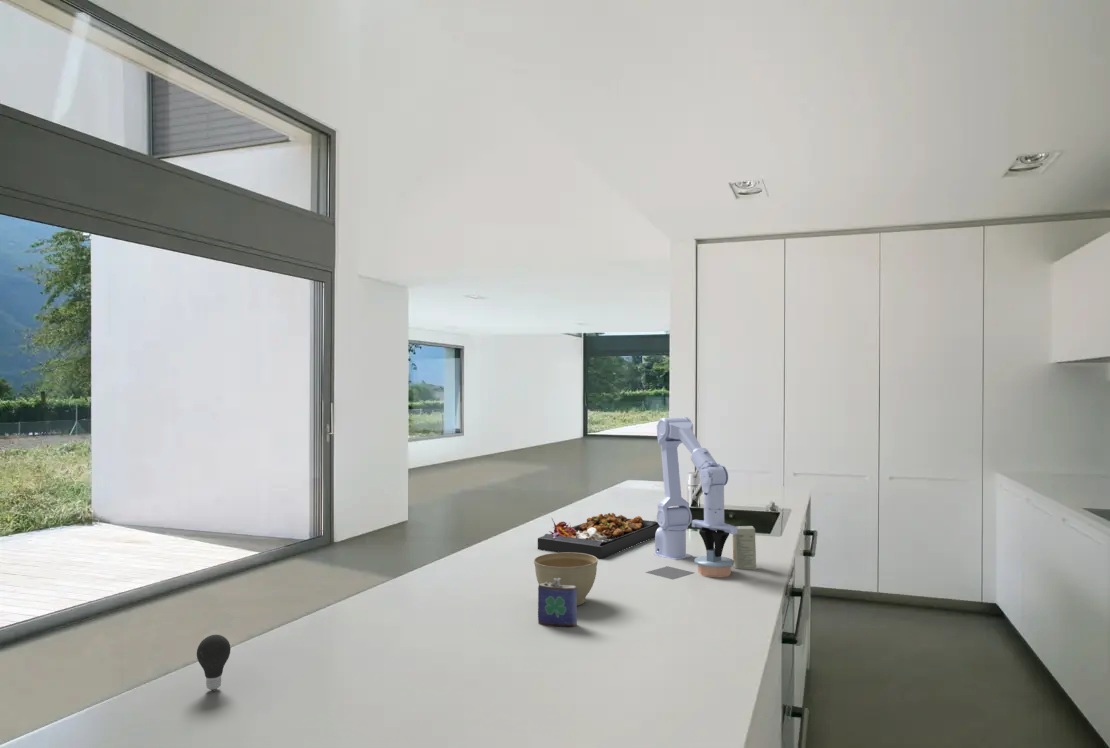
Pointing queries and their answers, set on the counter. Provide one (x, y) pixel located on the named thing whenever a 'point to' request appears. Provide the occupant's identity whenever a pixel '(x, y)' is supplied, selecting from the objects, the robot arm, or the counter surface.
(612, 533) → the food platter
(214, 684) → the light bulb
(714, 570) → the bowl
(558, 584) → the flask
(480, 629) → the counter surface
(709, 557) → the lid
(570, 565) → the planter bowl
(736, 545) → the skincare box
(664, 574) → the mat
